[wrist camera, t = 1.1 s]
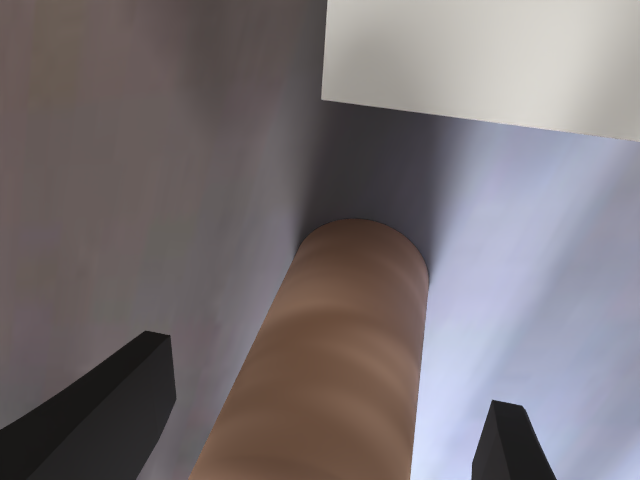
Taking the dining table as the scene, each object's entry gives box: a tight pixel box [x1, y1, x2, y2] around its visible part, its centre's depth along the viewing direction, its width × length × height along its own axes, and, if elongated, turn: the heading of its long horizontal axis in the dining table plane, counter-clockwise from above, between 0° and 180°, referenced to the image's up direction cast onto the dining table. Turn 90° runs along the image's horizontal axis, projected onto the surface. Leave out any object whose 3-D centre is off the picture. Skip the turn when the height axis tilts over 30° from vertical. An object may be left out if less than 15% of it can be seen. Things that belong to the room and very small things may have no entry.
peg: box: [188, 219, 429, 480], centre depth 13 cm, size 4×4×8 cm
